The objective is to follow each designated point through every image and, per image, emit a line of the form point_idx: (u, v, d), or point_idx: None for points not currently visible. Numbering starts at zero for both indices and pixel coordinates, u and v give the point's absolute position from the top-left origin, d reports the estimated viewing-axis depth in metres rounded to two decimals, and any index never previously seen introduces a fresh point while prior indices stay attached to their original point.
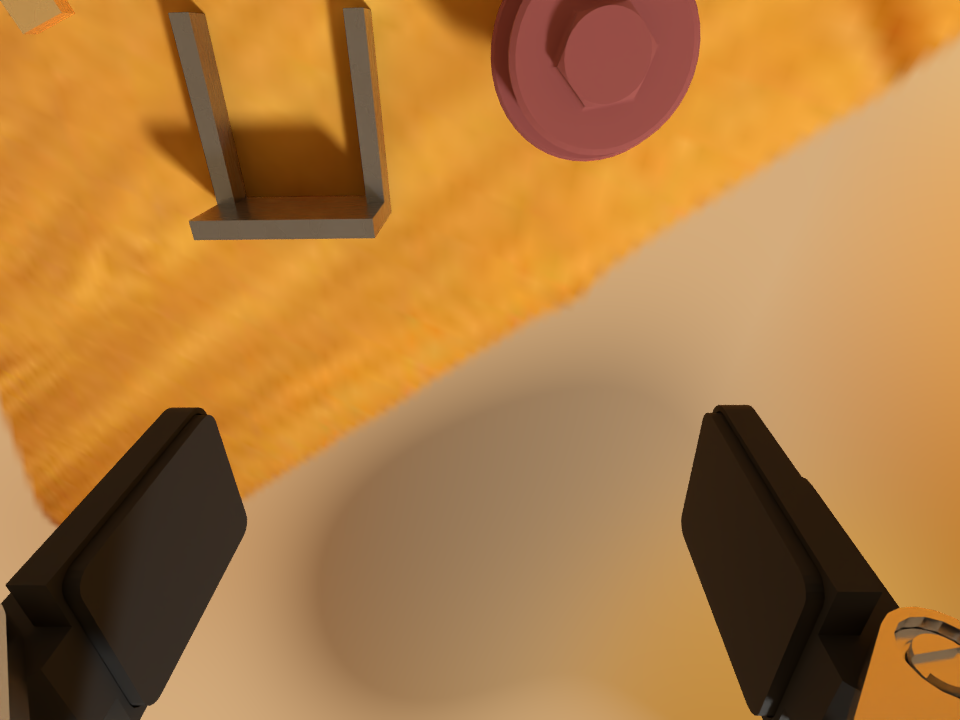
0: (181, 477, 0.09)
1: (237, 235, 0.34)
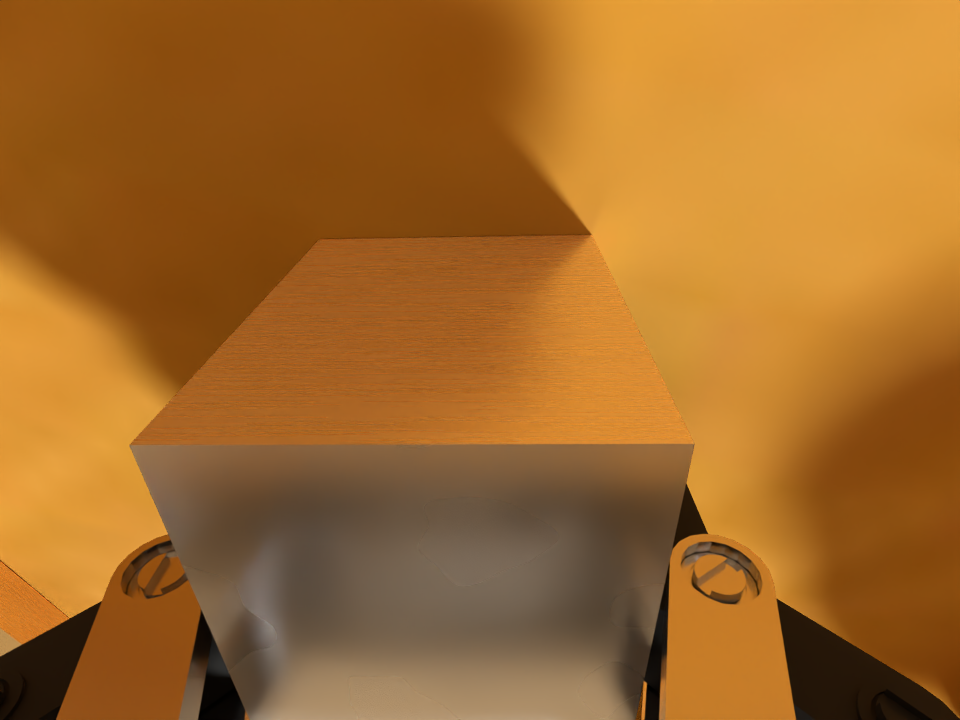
0: None
1: None
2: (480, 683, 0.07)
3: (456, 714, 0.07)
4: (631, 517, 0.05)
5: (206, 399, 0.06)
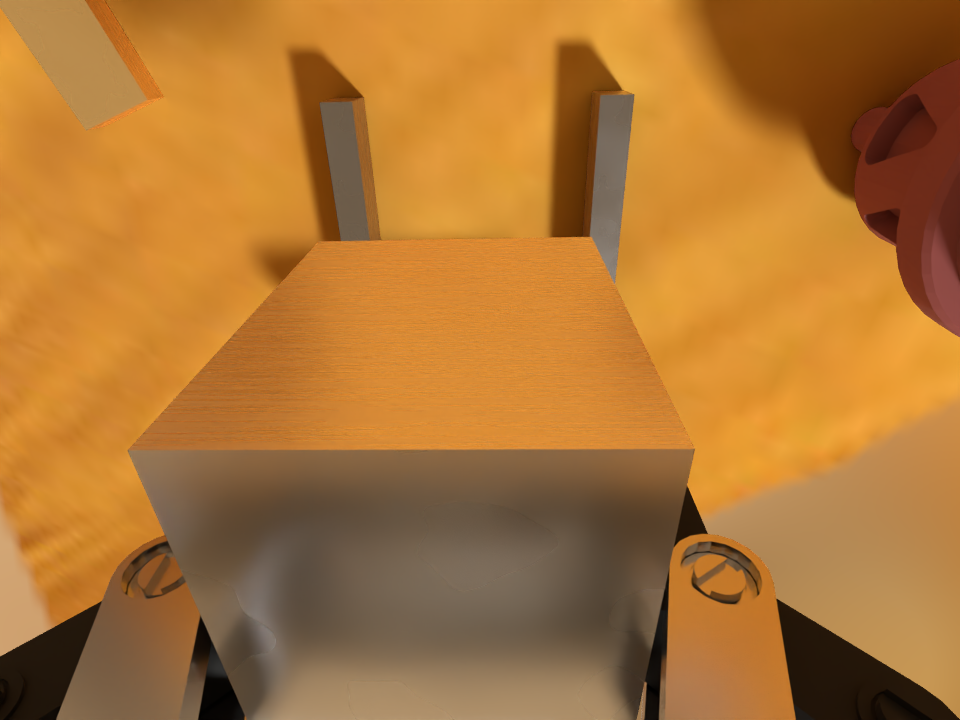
0: None
1: None
2: (479, 687, 0.07)
3: (456, 719, 0.07)
4: (631, 522, 0.05)
5: (204, 404, 0.05)
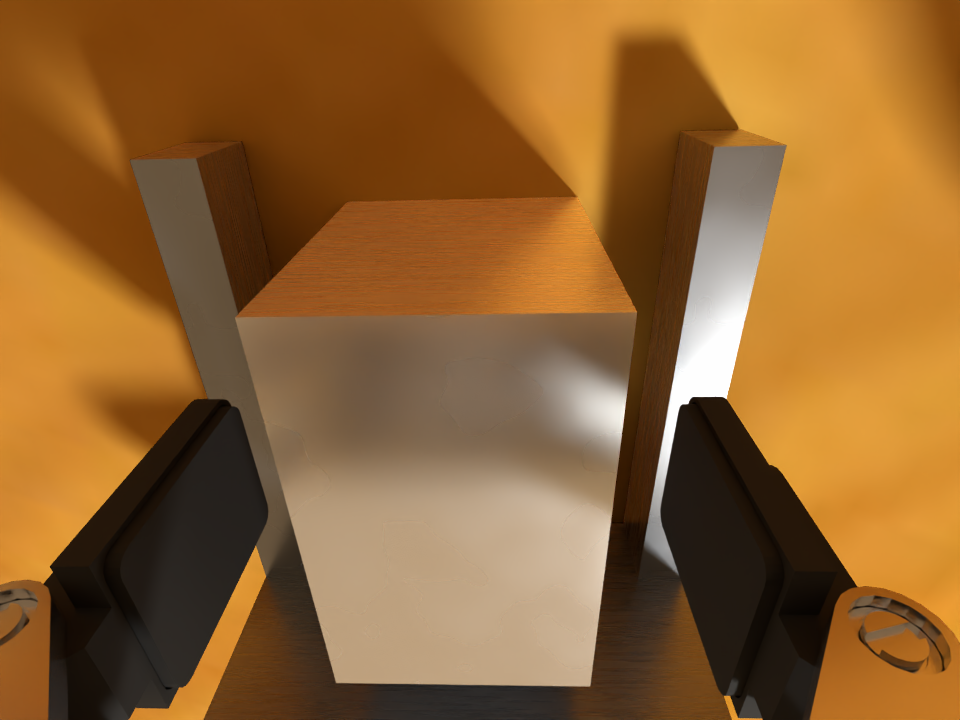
0: (209, 466, 0.09)
1: None
2: (485, 526, 0.09)
3: (466, 557, 0.09)
4: (595, 374, 0.07)
5: (283, 294, 0.07)
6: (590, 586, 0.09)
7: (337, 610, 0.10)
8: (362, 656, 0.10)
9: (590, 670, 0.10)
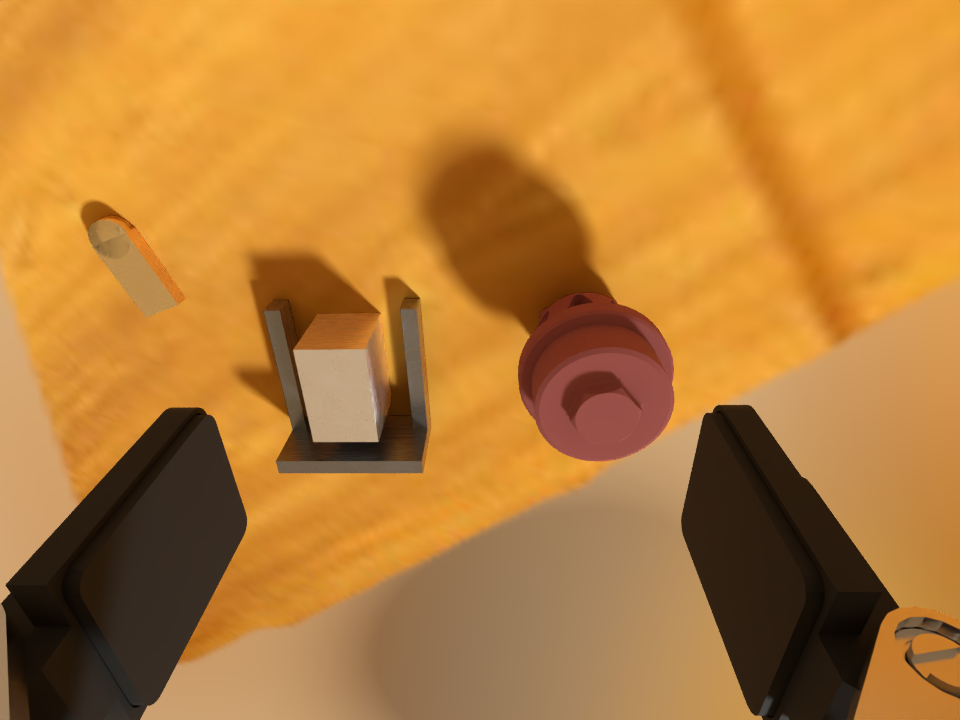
0: (181, 477, 0.09)
1: (313, 470, 0.43)
2: (344, 394, 0.39)
3: (341, 402, 0.40)
4: (360, 360, 0.38)
5: (301, 345, 0.38)
6: (371, 409, 0.40)
7: (313, 417, 0.41)
8: (319, 432, 0.41)
9: (377, 436, 0.41)
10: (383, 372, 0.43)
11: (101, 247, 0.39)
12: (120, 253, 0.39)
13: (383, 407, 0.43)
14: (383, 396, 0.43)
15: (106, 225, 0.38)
